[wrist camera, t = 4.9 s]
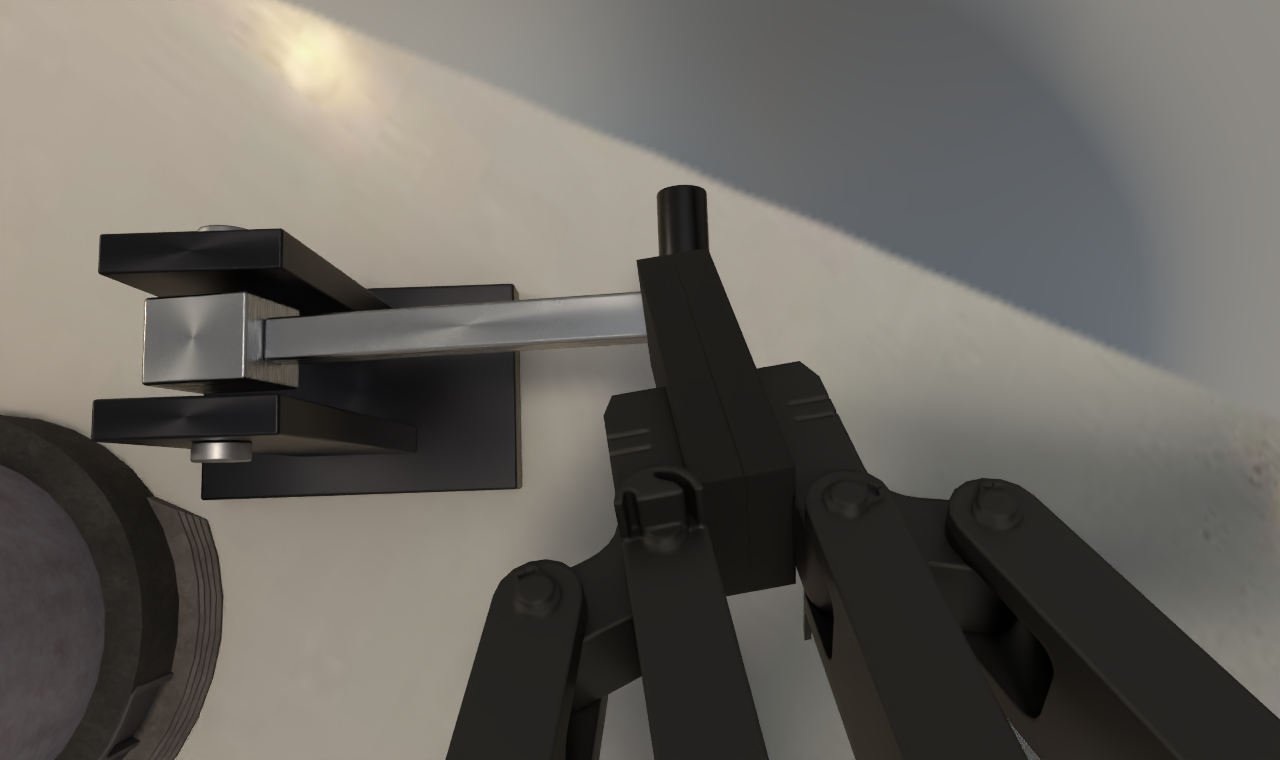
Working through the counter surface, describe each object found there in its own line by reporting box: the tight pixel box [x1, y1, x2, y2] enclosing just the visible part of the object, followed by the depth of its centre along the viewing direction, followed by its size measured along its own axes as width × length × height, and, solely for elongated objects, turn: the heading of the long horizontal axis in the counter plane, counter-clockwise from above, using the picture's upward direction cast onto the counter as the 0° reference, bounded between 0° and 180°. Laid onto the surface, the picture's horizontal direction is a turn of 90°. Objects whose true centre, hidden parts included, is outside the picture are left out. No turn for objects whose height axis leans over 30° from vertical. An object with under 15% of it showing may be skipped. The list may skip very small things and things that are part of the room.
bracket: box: [91, 225, 522, 500], centre depth 27 cm, size 12×8×14 cm, turn 92°
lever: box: [142, 185, 709, 394], centre depth 21 cm, size 14×6×2 cm, turn 92°
